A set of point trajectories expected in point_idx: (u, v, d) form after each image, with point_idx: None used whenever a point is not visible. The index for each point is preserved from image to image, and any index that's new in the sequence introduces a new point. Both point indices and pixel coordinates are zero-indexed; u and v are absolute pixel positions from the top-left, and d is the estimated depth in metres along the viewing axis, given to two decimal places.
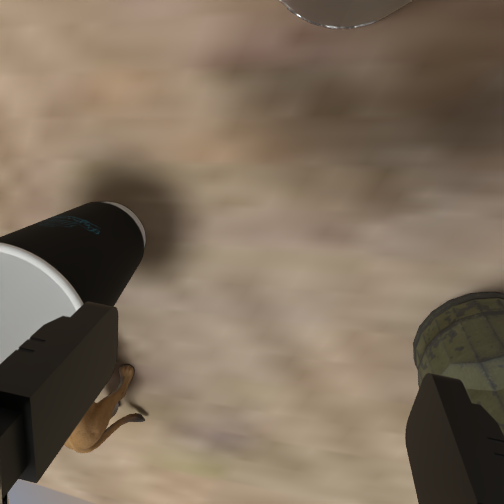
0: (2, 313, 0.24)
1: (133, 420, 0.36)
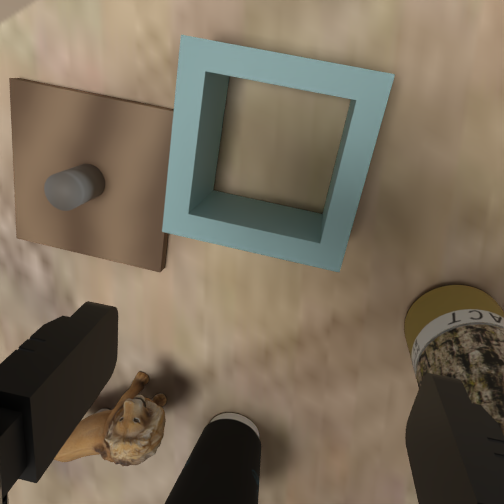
0: (188, 484, 0.32)
1: None
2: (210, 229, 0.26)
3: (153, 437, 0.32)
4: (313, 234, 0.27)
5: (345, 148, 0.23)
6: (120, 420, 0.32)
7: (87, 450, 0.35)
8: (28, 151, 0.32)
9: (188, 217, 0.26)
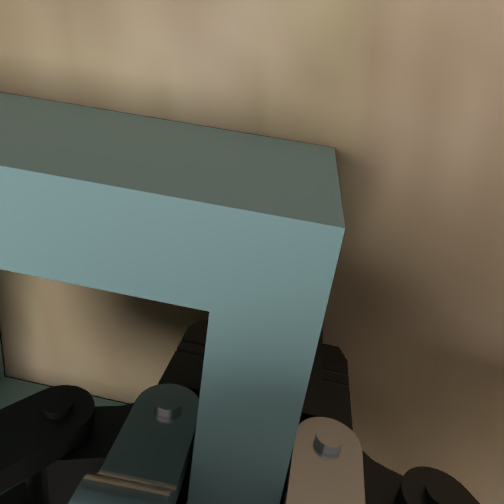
0: None
1: None
2: None
3: None
4: None
5: (197, 446, 0.07)
6: None
7: None
8: None
9: None
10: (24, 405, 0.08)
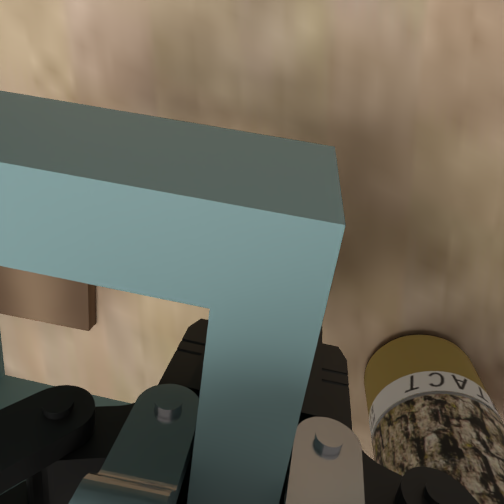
0: None
1: None
2: None
3: None
4: None
5: (197, 443, 0.07)
6: None
7: None
8: None
9: None
10: (24, 405, 0.08)
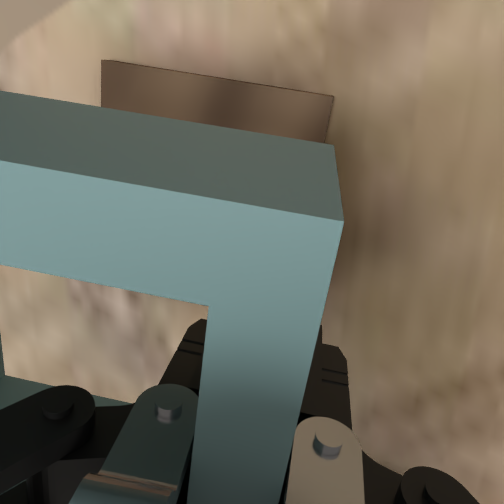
0: None
1: None
2: None
3: None
4: None
5: (197, 441, 0.07)
6: None
7: None
8: None
9: None
10: (25, 405, 0.08)
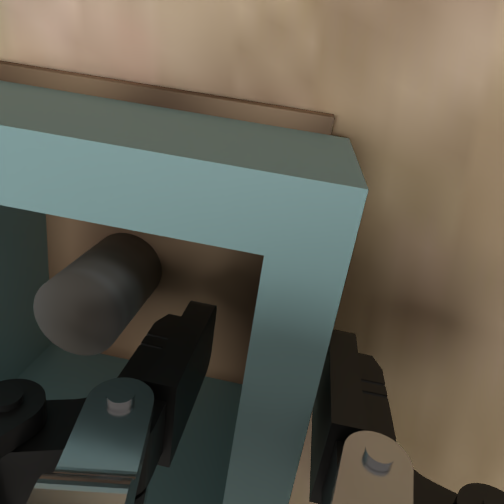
0: None
1: None
2: None
3: None
4: (210, 493, 0.12)
5: (248, 366, 0.09)
6: None
7: None
8: None
9: None
10: None
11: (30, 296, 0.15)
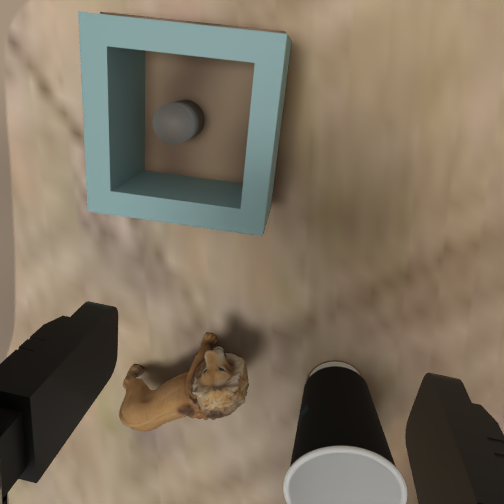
0: (318, 427, 0.30)
1: None
2: (133, 204, 0.27)
3: (241, 384, 0.30)
4: (236, 201, 0.27)
5: (251, 111, 0.24)
6: (204, 372, 0.31)
7: (170, 414, 0.34)
8: None
9: (111, 194, 0.27)
10: None
11: (139, 134, 0.30)
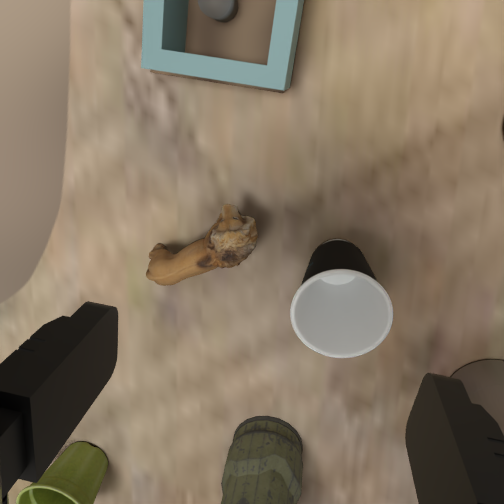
0: (322, 267, 0.36)
1: None
2: (179, 61, 0.33)
3: (251, 232, 0.37)
4: None
5: None
6: (221, 221, 0.37)
7: (190, 267, 0.40)
8: None
9: (161, 52, 0.33)
10: None
11: (183, 16, 0.36)
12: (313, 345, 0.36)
